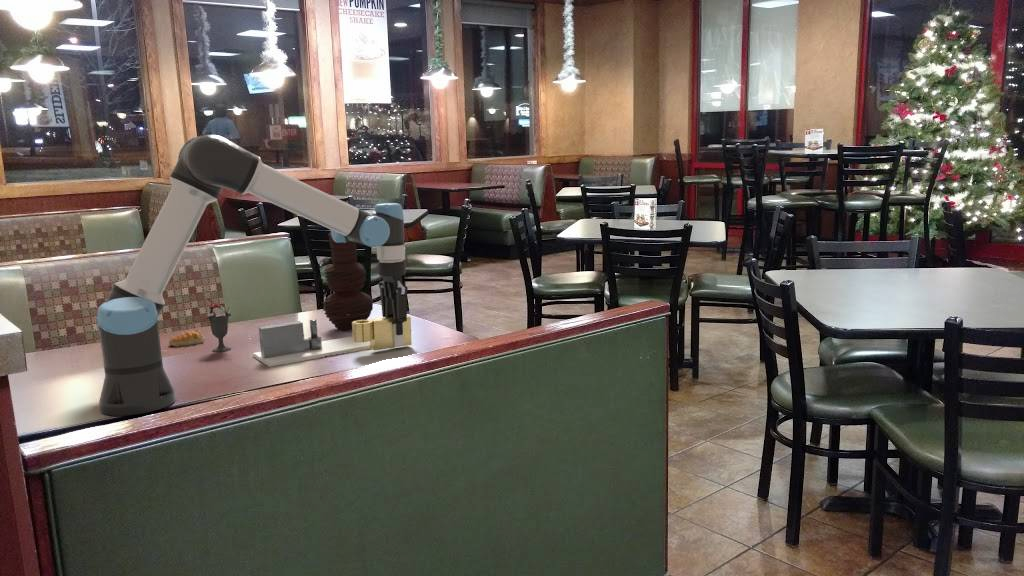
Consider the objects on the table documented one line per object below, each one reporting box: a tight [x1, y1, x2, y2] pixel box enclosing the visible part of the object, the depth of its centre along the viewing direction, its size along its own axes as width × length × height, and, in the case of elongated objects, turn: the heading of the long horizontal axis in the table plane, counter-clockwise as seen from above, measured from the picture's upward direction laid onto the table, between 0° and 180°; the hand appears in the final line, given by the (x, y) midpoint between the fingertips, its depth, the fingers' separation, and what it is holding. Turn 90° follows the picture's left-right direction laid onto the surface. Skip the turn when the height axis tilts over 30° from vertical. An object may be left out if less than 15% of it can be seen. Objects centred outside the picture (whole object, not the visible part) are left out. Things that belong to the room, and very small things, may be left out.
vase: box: [322, 232, 374, 332], centre depth 244 cm, size 15×15×30 cm
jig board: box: [252, 335, 371, 368], centre depth 218 cm, size 30×14×1 cm, turn 124°
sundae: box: [205, 298, 232, 353], centre depth 223 cm, size 7×7×15 cm
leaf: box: [351, 315, 413, 351], centre depth 215 cm, size 16×5×8 cm, turn 124°
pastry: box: [168, 329, 205, 347], centre depth 234 cm, size 9×7×4 cm
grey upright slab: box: [258, 318, 322, 358], centre depth 214 cm, size 16×4×8 cm, turn 124°
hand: (395, 344), depth 218 cm, fingers closed on leaf, 3 cm apart
